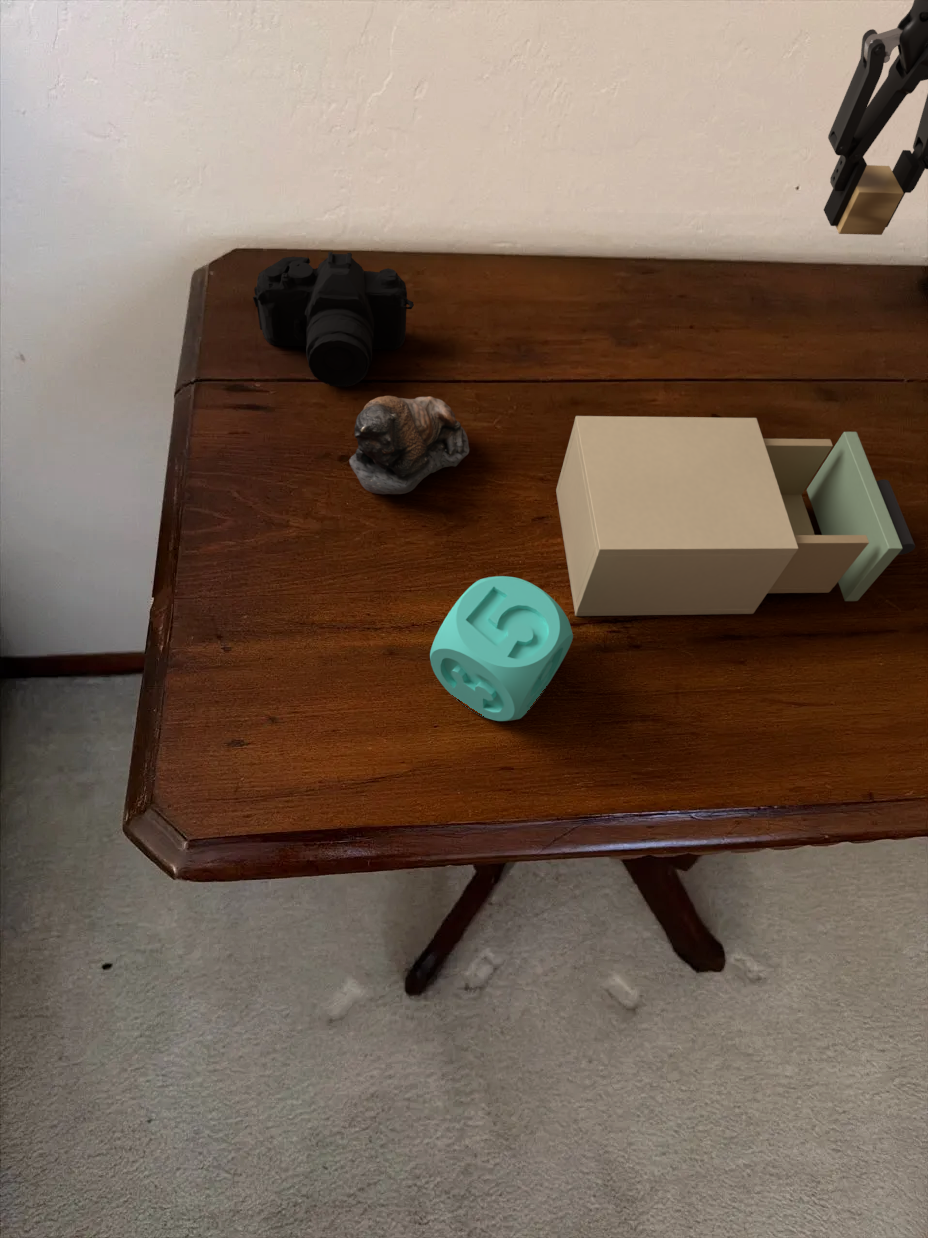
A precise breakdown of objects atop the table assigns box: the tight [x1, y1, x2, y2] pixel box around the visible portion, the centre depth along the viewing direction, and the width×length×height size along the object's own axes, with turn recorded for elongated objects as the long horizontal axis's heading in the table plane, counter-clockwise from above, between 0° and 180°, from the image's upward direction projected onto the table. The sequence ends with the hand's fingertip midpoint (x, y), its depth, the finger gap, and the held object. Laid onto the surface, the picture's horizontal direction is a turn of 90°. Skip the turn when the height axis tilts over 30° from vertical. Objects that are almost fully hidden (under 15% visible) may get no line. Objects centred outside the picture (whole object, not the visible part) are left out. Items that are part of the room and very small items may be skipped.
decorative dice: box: [429, 575, 574, 722], centre depth 67 cm, size 8×8×8 cm
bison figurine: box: [348, 395, 470, 495], centre depth 76 cm, size 12×7×10 cm, turn 136°
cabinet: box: [555, 415, 798, 617], centre depth 74 cm, size 16×14×10 cm
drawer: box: [763, 431, 916, 602], centre depth 75 cm, size 18×12×8 cm
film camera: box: [252, 251, 415, 388], centre depth 84 cm, size 15×10×9 cm, turn 92°
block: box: [835, 164, 904, 236], centre depth 89 cm, size 5×5×5 cm
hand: (855, 217), depth 91 cm, fingers closed on block, 5 cm apart
